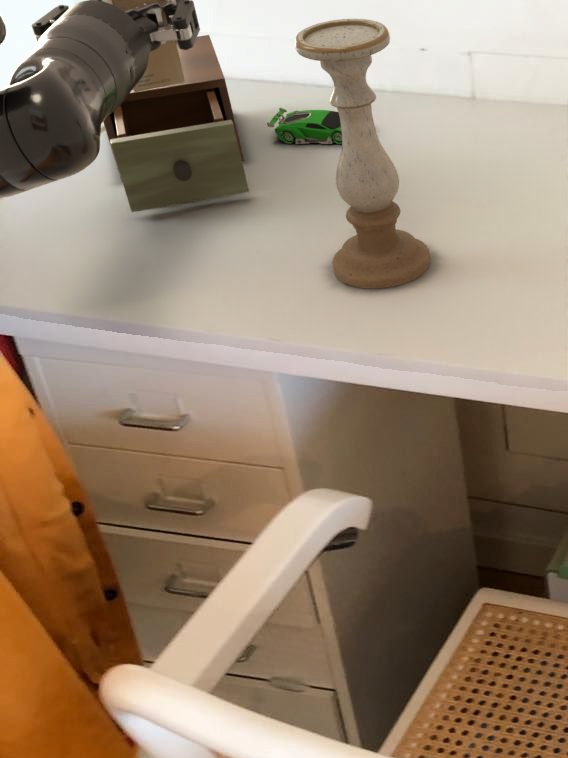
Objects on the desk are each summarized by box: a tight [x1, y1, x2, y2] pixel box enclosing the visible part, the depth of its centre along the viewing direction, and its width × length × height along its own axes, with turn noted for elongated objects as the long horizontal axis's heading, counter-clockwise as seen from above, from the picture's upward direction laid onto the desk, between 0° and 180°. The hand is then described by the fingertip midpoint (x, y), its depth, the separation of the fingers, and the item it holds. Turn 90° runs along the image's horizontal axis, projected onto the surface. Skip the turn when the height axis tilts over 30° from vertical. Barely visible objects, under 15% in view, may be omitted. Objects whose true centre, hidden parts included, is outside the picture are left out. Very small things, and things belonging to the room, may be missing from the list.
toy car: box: [266, 107, 342, 145], centre depth 140 cm, size 10×5×2 cm, turn 82°
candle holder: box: [294, 18, 431, 289], centre depth 111 cm, size 9×9×20 cm
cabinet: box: [102, 34, 245, 182], centre depth 138 cm, size 15×13×9 cm
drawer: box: [109, 88, 250, 213], centre depth 130 cm, size 15×11×7 cm
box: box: [102, 0, 185, 92], centre depth 121 cm, size 5×4×11 cm
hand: (142, 2), depth 122 cm, fingers closed on box, 6 cm apart
